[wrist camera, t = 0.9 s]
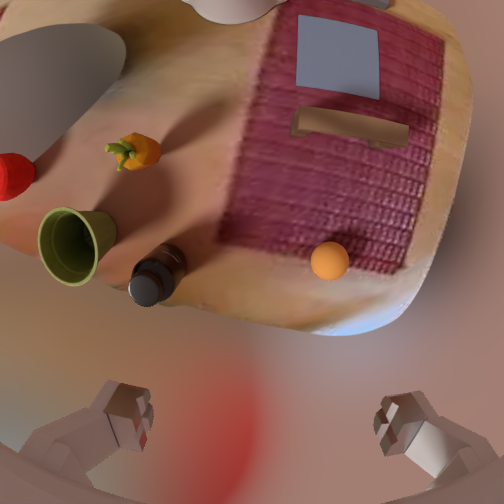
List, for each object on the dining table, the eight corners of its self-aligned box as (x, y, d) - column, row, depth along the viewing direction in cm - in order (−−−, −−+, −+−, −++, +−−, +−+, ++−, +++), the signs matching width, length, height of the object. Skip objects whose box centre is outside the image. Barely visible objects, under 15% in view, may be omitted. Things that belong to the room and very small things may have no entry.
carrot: (178, 154, 43) (144, 149, 29) (156, 175, 44) (114, 181, 30) (159, 132, 42) (119, 119, 28) (137, 153, 43) (90, 151, 29)
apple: (11, 187, 44) (-24, 195, 34) (20, 147, 42) (-16, 148, 31) (37, 201, 45) (0, 211, 35) (47, 158, 43) (9, 160, 32)
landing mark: (298, 15, 36) (298, 14, 36) (376, 31, 36) (377, 30, 36) (295, 85, 40) (296, 85, 40) (378, 100, 40) (379, 99, 40)
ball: (310, 236, 47) (317, 246, 41) (345, 238, 47) (356, 248, 41) (305, 271, 48) (312, 285, 43) (339, 273, 49) (350, 287, 43)
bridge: (290, 117, 41) (300, 105, 32) (380, 131, 42) (408, 125, 32) (289, 136, 42) (299, 128, 33) (379, 149, 42) (407, 146, 33)
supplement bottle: (186, 242, 47) (166, 267, 36) (189, 281, 49) (172, 315, 38) (147, 243, 47) (117, 267, 36) (151, 281, 49) (126, 313, 38)
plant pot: (119, 189, 45) (84, 197, 34) (136, 256, 48) (108, 280, 37) (67, 206, 45) (29, 218, 35) (84, 267, 49) (51, 290, 38)
